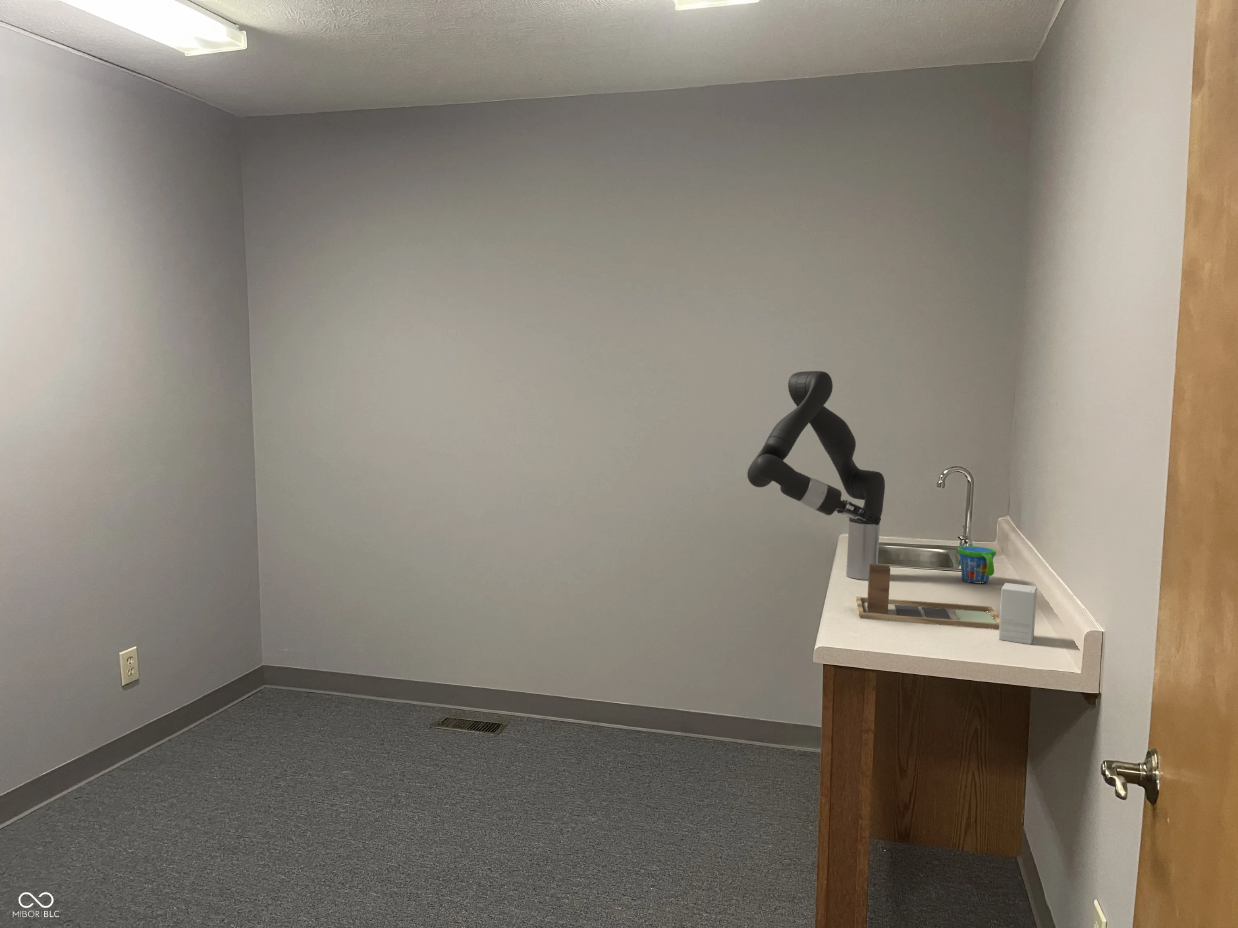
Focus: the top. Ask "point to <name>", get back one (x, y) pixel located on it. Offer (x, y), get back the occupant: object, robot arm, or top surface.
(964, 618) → the pad
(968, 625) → the tray
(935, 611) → the trap squares
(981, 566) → the snack cup
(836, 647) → the top surface
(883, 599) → the walnut block
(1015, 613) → the supplement box
